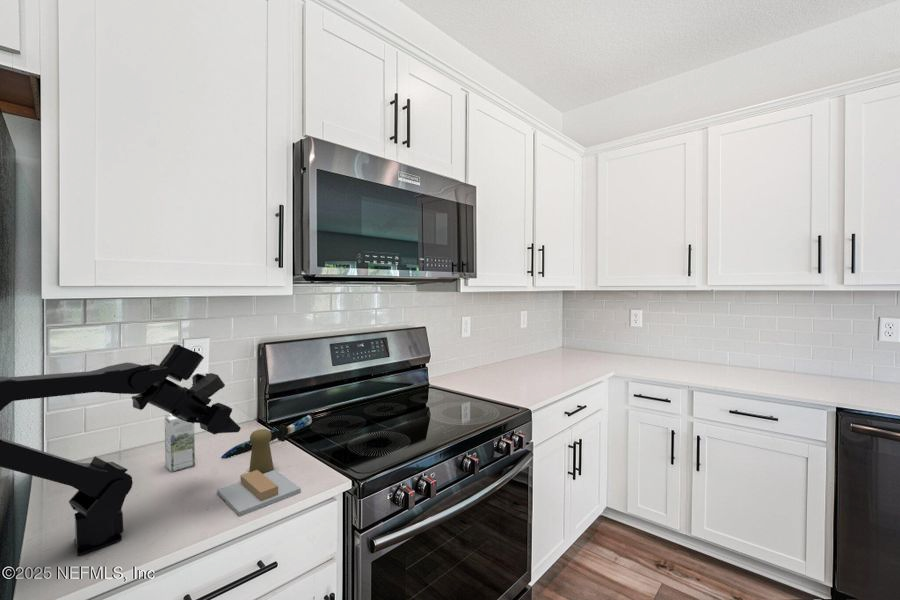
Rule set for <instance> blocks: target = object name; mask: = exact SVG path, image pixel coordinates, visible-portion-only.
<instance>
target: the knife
mask: <svg viewBox="0 0 900 600" xmlns="http://www.w3.org/2000/svg"><path fill="white" fill-rule="evenodd" d="M314 419H315V416H314V414H313V413H309V414H307V416H304V417H302V418H301V419H299V420H296V421H295V422H293V423H291V424H290V425H288V426H286V425H284V424H279V426H278V430H276V429H275V427H273V428H272V429H271V430H269V431H270V432H271V440H270V442H273V441H274V440H278V441H281V442H284V441H285V438H286V437H287V436H288V435H290V434H292V433H294V432H296V431H298V430H300V429H303V428H304V427H306V426H307V427H308V426H309V425H311V424H312V422H313V420H314ZM270 442H269V443H270ZM249 451H250V452H251V451H252V444H251V442H250V439H249V440H247V441H244V442H241V443H239V444H236V445H235V446H233V447H232V448H231V449H229V450H227V451H226V452H224V454H222V456H220V459H221V460H222V459H224V460H225V459H229V458H232V457H231V456H233V457H235V456H234V455H236V456H238V454H239V455H241V453H242V454H244V453H246V452H249ZM228 457H229V458H228Z"/></svg>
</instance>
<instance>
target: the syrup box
mask: <svg viewBox="0 0 900 600" xmlns="http://www.w3.org/2000/svg"><path fill="white" fill-rule="evenodd" d="M164 441H165V442H164V446H165V447H164V449H165V451H164V452H165V467H166V468H167V469H168V470H169V471H170V473H174V472H177V471H181V470H184V468H185V469H187V468H190V467H191V466H192V467H194V466H195V465H196V457H195V456H196V455H195V454H196V451H195V450H196V448H195V447H196V446H195V423H194V424H193V423H191V422H186V421H183V420H181V419H179V418H176V417H174V416H172V414H171V413H167V414H165V415H164Z"/></svg>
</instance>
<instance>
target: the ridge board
mask: <svg viewBox="0 0 900 600" xmlns="http://www.w3.org/2000/svg"><path fill="white" fill-rule="evenodd" d="M301 492H302V489H301V487H300V486H299V485H297V484H296V483H294V482H293V481H291V480H290V479H289V478H288V477H286V476H285V475H283V474H282V473H280V472H279V471H278V470H276V469H274V470H273V471H270V472H267V473H264V474H262V473H261V472H259V471H258V470H255V471H252V472H249V471H248V472H246V473H243V474H241V475H240V480H239V481H238V482H234V483H231V484H229V485H226V486H223V487H219V488H217V489H216V494H217V493H218V494H219V495H220V496H221V497H222V498H223V499H224V500H225V501H226V502H227V503H226V502H225V501H224V500H223V499H222V498H221V497H220V496H219V495H218V494H217V495H218V496H219V497H220V498H221V499H222V500H223V501H224V502H225V503H226V504H227V506H228V507H230V509H231V508H232V509H233V510H234V511H235V512H234V511H233V510H232V509H231V510H232V511H233V512H234V513H235V514H236V515H237V516H238V517H242V516H244V515H247V514H250V513H252V512H254V511H256V510H257V511H258V510H260V509H263V508H266V507H267V506H269V505H272V504H274V503H277V502H279V501H283V500H285V499H288V498H289V497H293V496H295V495H298V494H299V493H301Z"/></svg>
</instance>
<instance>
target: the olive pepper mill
mask: <svg viewBox="0 0 900 600" xmlns="http://www.w3.org/2000/svg"><path fill="white" fill-rule="evenodd" d="M270 431H271V430H270V429H266V428H264V429H262V428H261V429H256V430H254V431H253V432H251V434H250V436H249V440H250V442H251V444H252V450H251V451H250V462H249V469H248V473H249V472H252V471H255V470H258V471H259V472H261V473H262V474H264V473H267V472H270V471H273V470H275V469H274V463H273V457H272V451H271V445H270V440H271V432H270Z"/></svg>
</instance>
